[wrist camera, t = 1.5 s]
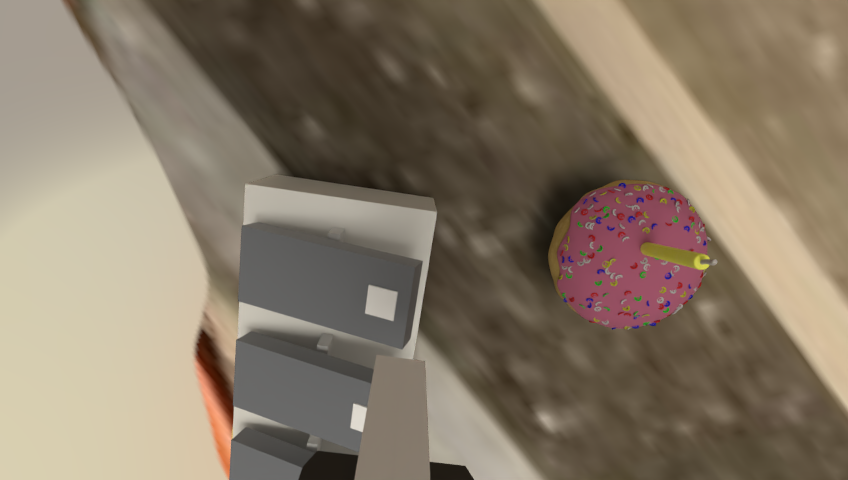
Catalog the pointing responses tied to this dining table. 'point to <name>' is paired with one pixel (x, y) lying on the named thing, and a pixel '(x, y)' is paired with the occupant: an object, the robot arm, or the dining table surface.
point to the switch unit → (347, 222)
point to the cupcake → (629, 254)
